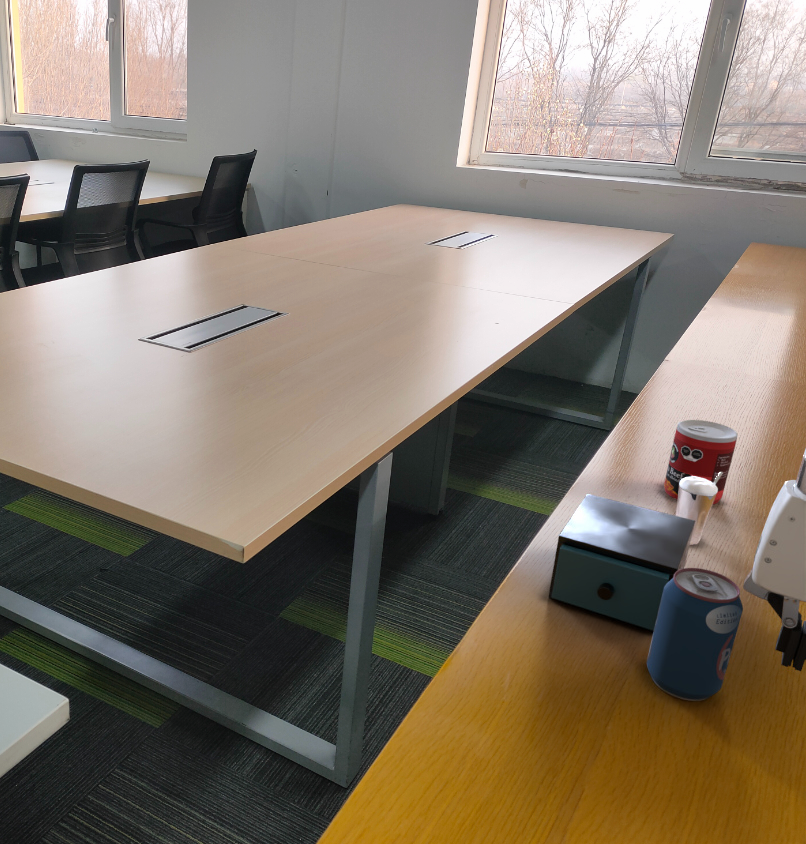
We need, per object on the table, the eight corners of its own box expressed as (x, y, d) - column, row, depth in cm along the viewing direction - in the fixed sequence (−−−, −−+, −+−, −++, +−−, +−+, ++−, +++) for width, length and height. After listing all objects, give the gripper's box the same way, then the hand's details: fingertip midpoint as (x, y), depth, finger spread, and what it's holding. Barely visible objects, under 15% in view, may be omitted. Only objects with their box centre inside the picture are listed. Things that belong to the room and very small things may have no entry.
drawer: (653, 637, 88) (666, 584, 86) (548, 602, 94) (557, 552, 92) (674, 581, 99) (685, 533, 96) (578, 553, 105) (586, 507, 102)
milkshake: (717, 545, 109) (734, 479, 105) (681, 548, 108) (697, 481, 104) (694, 529, 113) (710, 465, 109) (660, 532, 112) (674, 467, 109)
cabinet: (662, 634, 90) (677, 569, 87) (547, 597, 97) (558, 535, 94) (680, 581, 101) (695, 520, 97) (576, 550, 107) (587, 493, 104)
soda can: (729, 710, 79) (759, 607, 74) (654, 700, 80) (678, 598, 76) (706, 665, 85) (732, 568, 81) (636, 657, 86) (658, 560, 82)
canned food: (657, 481, 127) (671, 417, 123) (711, 486, 126) (727, 421, 122) (670, 503, 120) (686, 436, 116) (728, 509, 119) (746, 440, 115)
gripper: (956, 493, 68) (888, 671, 74) (753, 450, 76) (707, 614, 82) (967, 527, 62) (892, 716, 69) (745, 477, 70) (697, 651, 77)
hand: (791, 660), depth 76 cm, fingers closed
